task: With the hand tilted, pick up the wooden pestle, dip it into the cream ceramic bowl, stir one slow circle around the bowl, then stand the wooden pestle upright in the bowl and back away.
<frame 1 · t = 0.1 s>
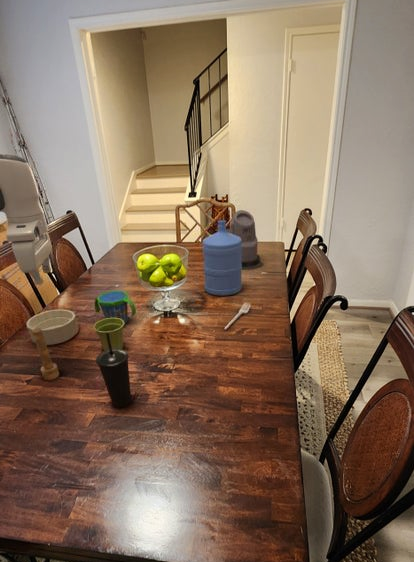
hand: (43, 277, 102), 26 cm above the table, tool pointing down, fingers open, 8 cm apart
snack cup: (117, 322, 135), on the table
plant pot: (113, 348, 119), on the table
water jug: (223, 289, 157), on the table
machine: (239, 260, 190), on the table
wooden pestle: (51, 375, 107), on the table
fork: (237, 318, 133), on the table
drinking cup: (121, 401, 96), on the table
bowl: (55, 334, 129), on the table
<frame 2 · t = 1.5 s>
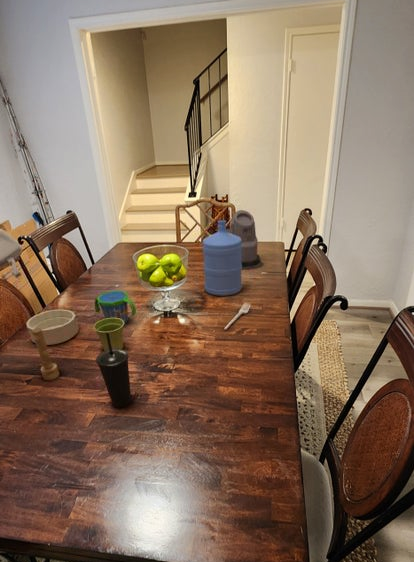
hand: (2, 287, 90), 28 cm above the table, tool tilted 45°, fingers open, 8 cm apart
nothing on the table moved.
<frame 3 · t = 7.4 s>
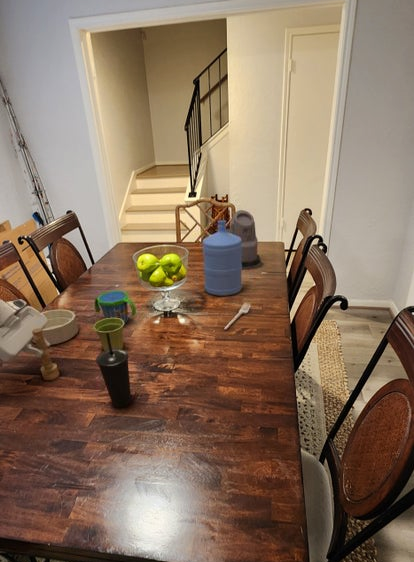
hand: (45, 351, 103), 8 cm above the table, tool tilted 45°, fingers closed on wooden pestle, 2 cm apart
wooden pestle: (51, 375, 107), on the table, touching gripper
everything else where it was.
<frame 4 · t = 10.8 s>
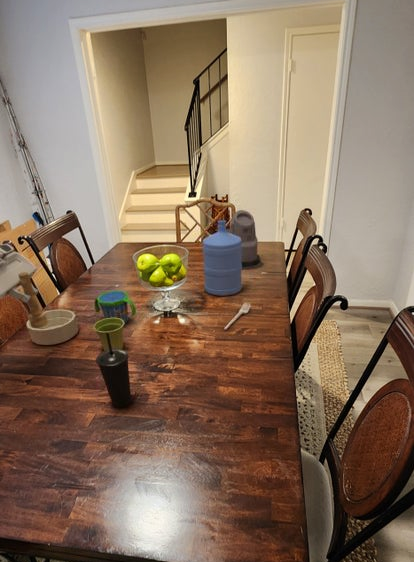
hand: (32, 297, 100), 22 cm above the table, tool tilted 45°, fingers closed on wooden pestle, 2 cm apart
wooden pestle: (39, 324, 105), point 14 cm above the table, touching gripper
everything else where it was.
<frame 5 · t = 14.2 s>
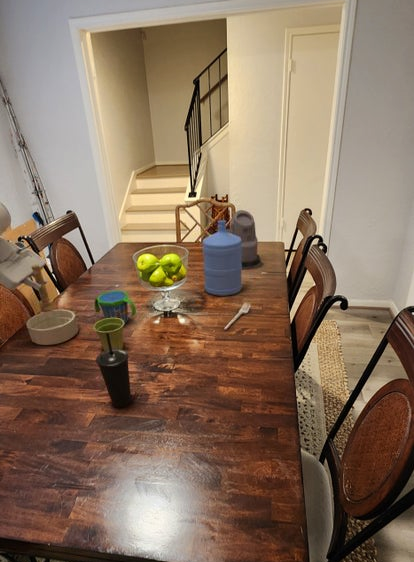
hand: (42, 285, 120), 18 cm above the table, tool tilted 45°, fingers closed on wooden pestle, 2 cm apart
wooden pestle: (48, 309, 124), point 10 cm above the table, touching gripper
everything else where it was.
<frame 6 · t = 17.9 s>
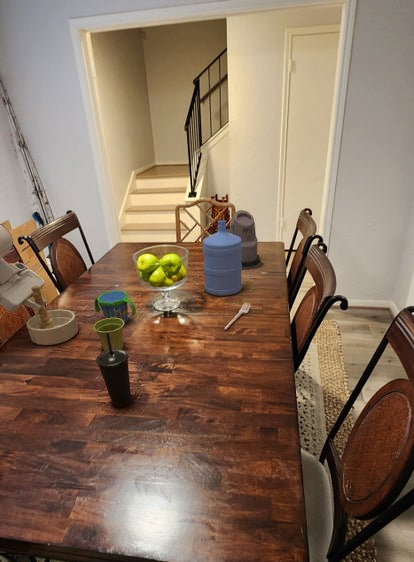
hand: (42, 306, 122), 11 cm above the table, tool tilted 45°, fingers closed on wooden pestle, 2 cm apart
wooden pestle: (47, 328, 127), point 3 cm above the table, touching gripper
everything else where it was.
when the fingers open (9 cm above the table, at t = 20.8 s): wooden pestle stays where it is, resting on bowl.
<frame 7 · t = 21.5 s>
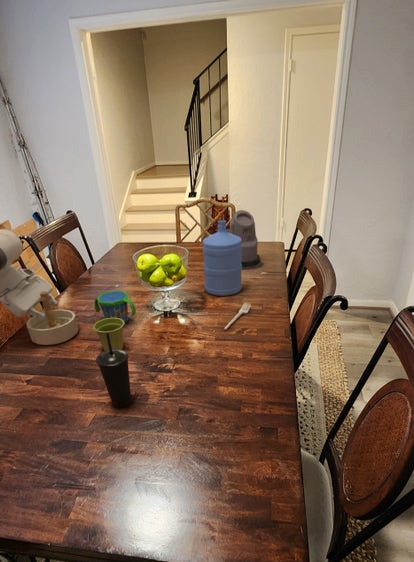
hand: (50, 311, 124), 9 cm above the table, tool tilted 45°, fingers open, 8 cm apart
wooden pestle: (55, 332, 129), point 1 cm above the table, touching bowl
everything else where it was.
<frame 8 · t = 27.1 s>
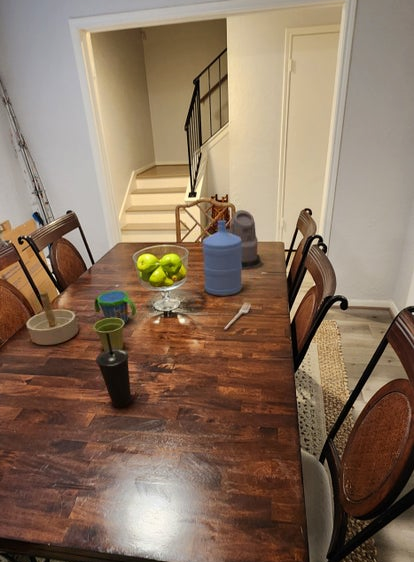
nothing on the table moved.
at the end: wooden pestle inside the target area in the bowl (0.2 cm from its centre), point 0.6 cm above the bowl's base; wooden pestle tilted 0°; the gripper is holding nothing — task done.
